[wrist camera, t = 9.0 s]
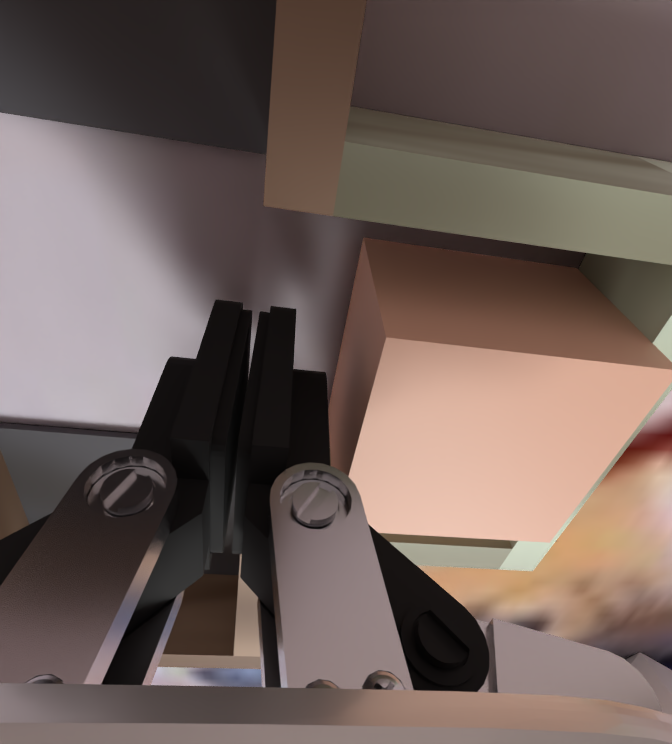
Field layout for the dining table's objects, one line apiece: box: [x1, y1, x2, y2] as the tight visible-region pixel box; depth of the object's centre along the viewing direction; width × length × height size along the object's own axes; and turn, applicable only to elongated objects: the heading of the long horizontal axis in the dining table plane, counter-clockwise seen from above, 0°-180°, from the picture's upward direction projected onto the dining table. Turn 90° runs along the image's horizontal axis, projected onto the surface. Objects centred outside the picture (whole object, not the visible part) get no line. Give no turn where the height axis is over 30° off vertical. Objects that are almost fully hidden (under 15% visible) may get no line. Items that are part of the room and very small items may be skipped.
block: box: [328, 238, 672, 543], centre depth 11 cm, size 5×5×4 cm
